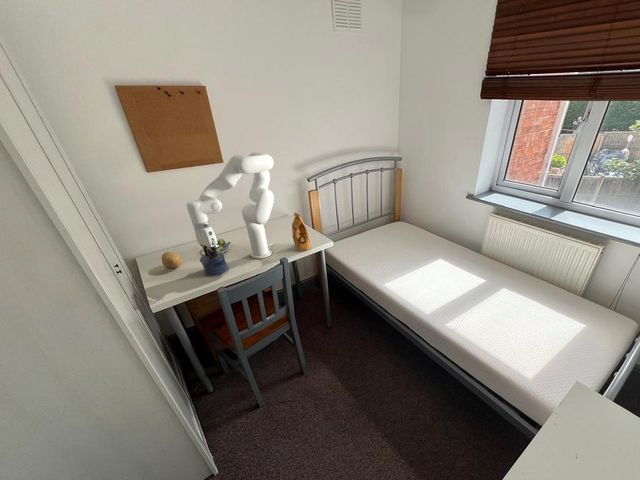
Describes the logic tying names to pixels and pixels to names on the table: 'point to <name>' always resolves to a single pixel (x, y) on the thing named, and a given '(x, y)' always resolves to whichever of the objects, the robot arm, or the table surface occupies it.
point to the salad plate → (221, 246)
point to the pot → (215, 268)
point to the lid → (209, 259)
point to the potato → (171, 259)
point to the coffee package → (300, 234)
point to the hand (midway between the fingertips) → (211, 256)
